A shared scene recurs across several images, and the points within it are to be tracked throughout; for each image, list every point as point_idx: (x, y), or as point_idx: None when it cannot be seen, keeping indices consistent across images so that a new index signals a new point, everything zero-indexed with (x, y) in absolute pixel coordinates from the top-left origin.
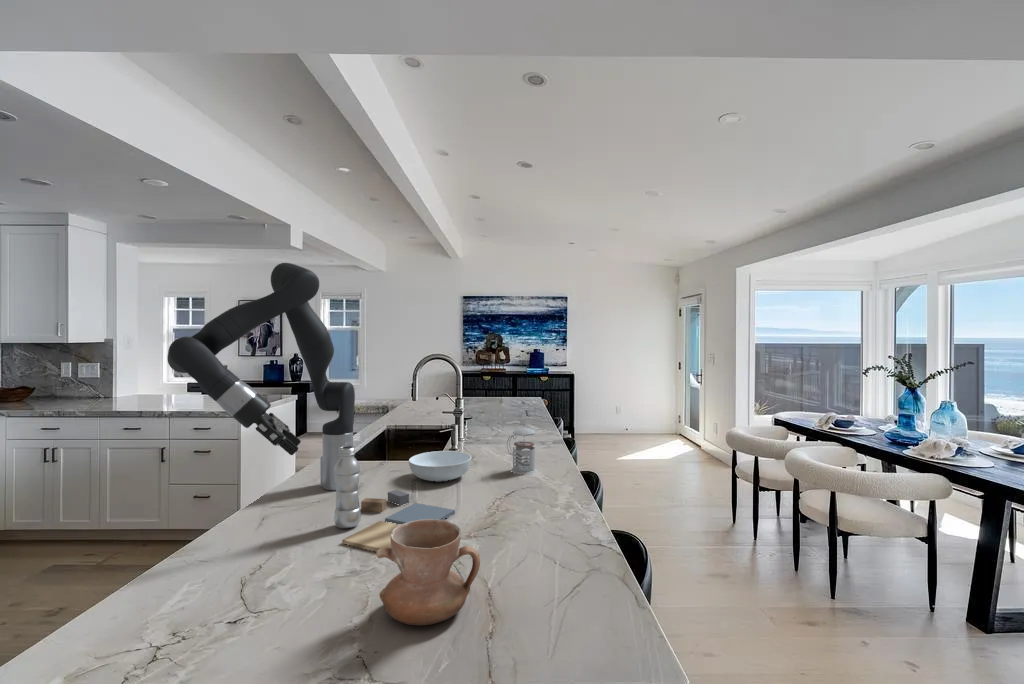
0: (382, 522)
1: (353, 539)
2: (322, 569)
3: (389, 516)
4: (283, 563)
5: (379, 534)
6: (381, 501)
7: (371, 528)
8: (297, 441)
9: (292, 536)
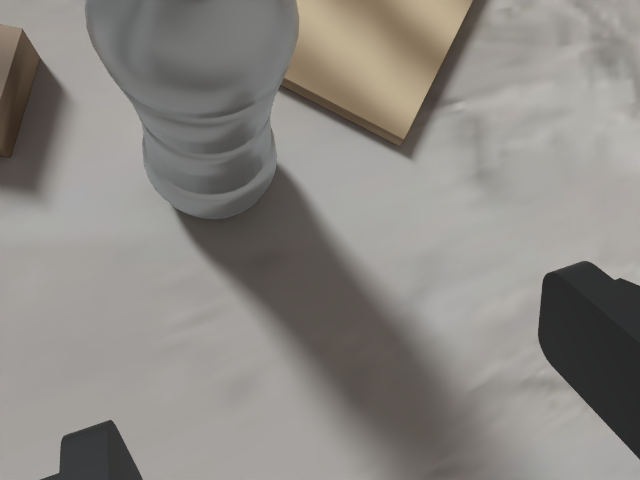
0: None
1: (402, 96)
2: (601, 156)
3: None
4: None
5: (351, 11)
6: (1, 34)
7: None
8: (117, 467)
9: (320, 385)
